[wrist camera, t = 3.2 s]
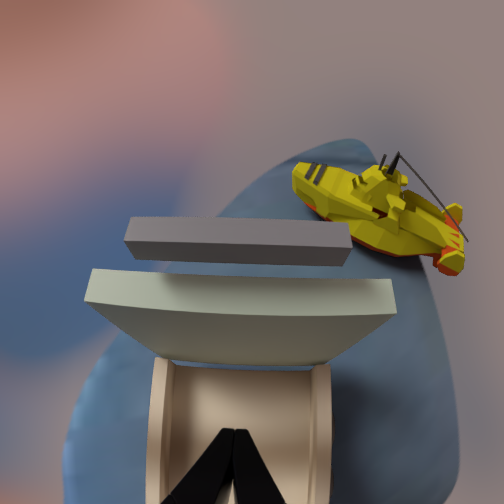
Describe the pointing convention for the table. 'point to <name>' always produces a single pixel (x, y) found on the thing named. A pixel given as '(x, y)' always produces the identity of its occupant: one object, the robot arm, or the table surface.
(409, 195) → the toy boat
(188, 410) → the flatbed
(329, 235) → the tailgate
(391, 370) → the table surface
